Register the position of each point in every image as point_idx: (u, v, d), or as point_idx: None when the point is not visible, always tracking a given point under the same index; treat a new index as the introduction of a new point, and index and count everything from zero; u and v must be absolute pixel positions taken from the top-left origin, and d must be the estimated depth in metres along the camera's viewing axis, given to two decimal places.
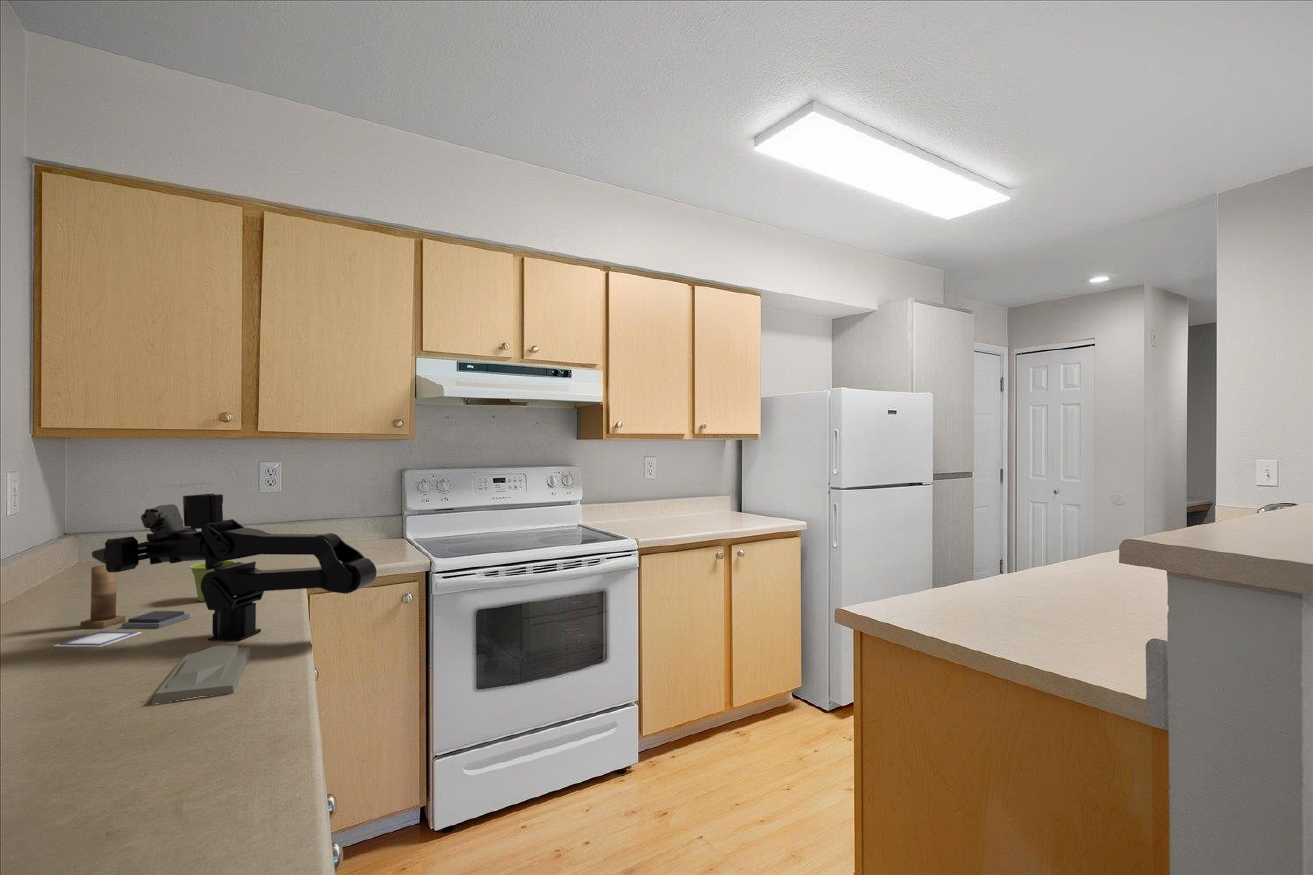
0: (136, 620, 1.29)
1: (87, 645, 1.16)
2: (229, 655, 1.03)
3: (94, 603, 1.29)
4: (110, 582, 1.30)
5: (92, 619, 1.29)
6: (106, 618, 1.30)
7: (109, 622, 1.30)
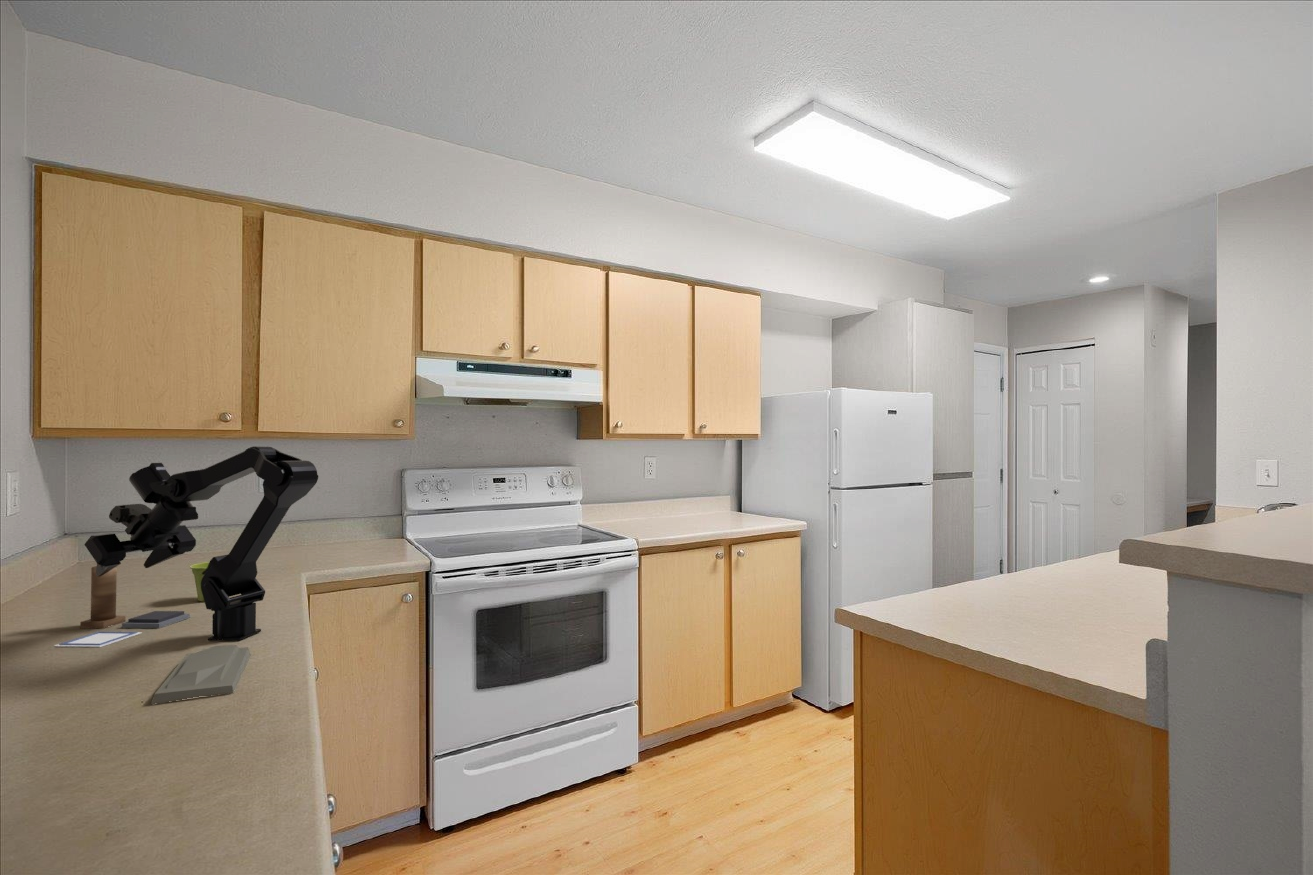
0: (136, 620, 1.29)
1: (87, 645, 1.16)
2: (229, 655, 1.03)
3: (94, 603, 1.29)
4: (110, 582, 1.30)
5: (92, 619, 1.29)
6: (106, 618, 1.30)
7: (109, 622, 1.30)
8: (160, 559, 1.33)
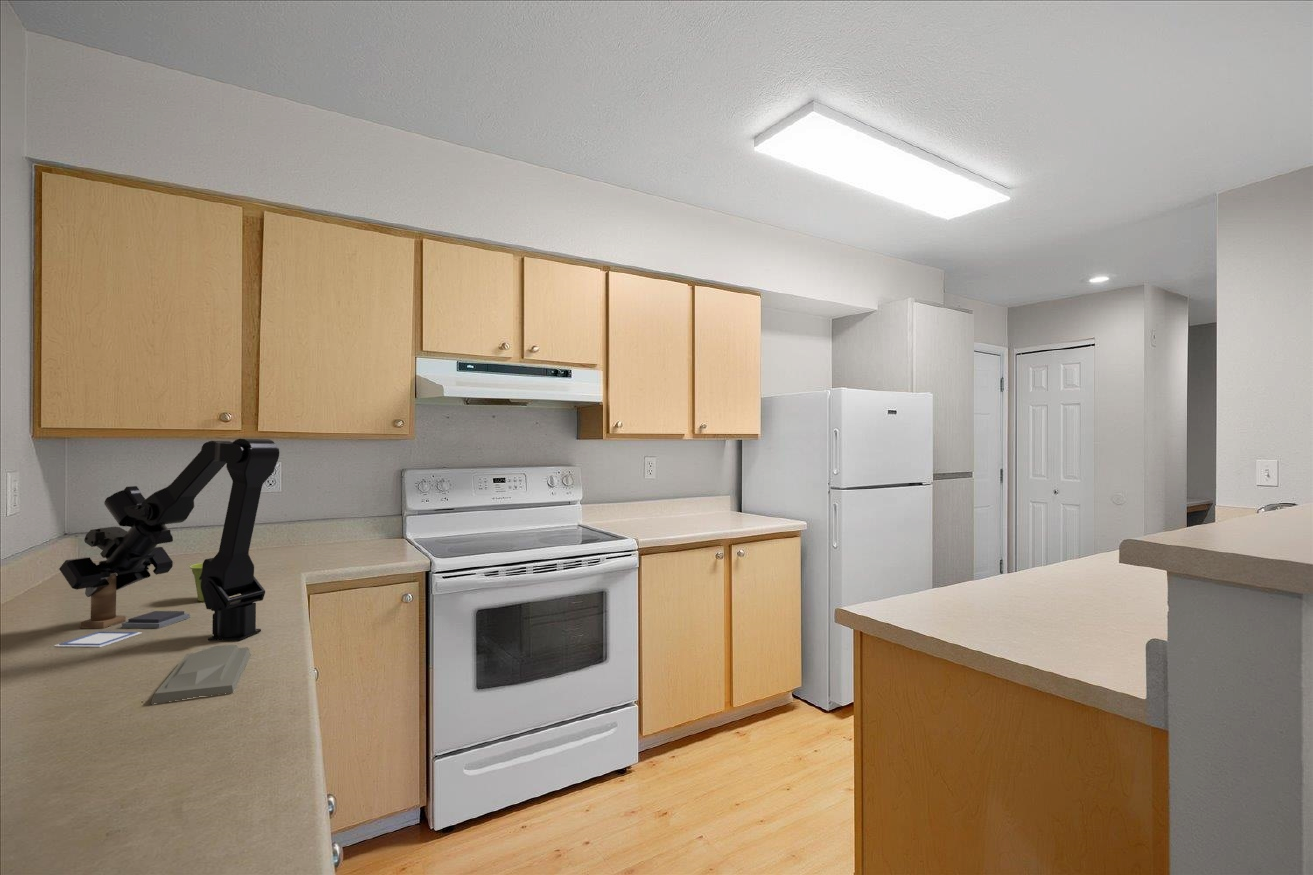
0: (136, 620, 1.29)
1: (87, 645, 1.16)
2: (229, 655, 1.03)
3: (94, 603, 1.29)
4: (110, 582, 1.30)
5: (92, 619, 1.29)
6: (106, 618, 1.30)
7: (109, 622, 1.30)
8: (125, 583, 1.33)
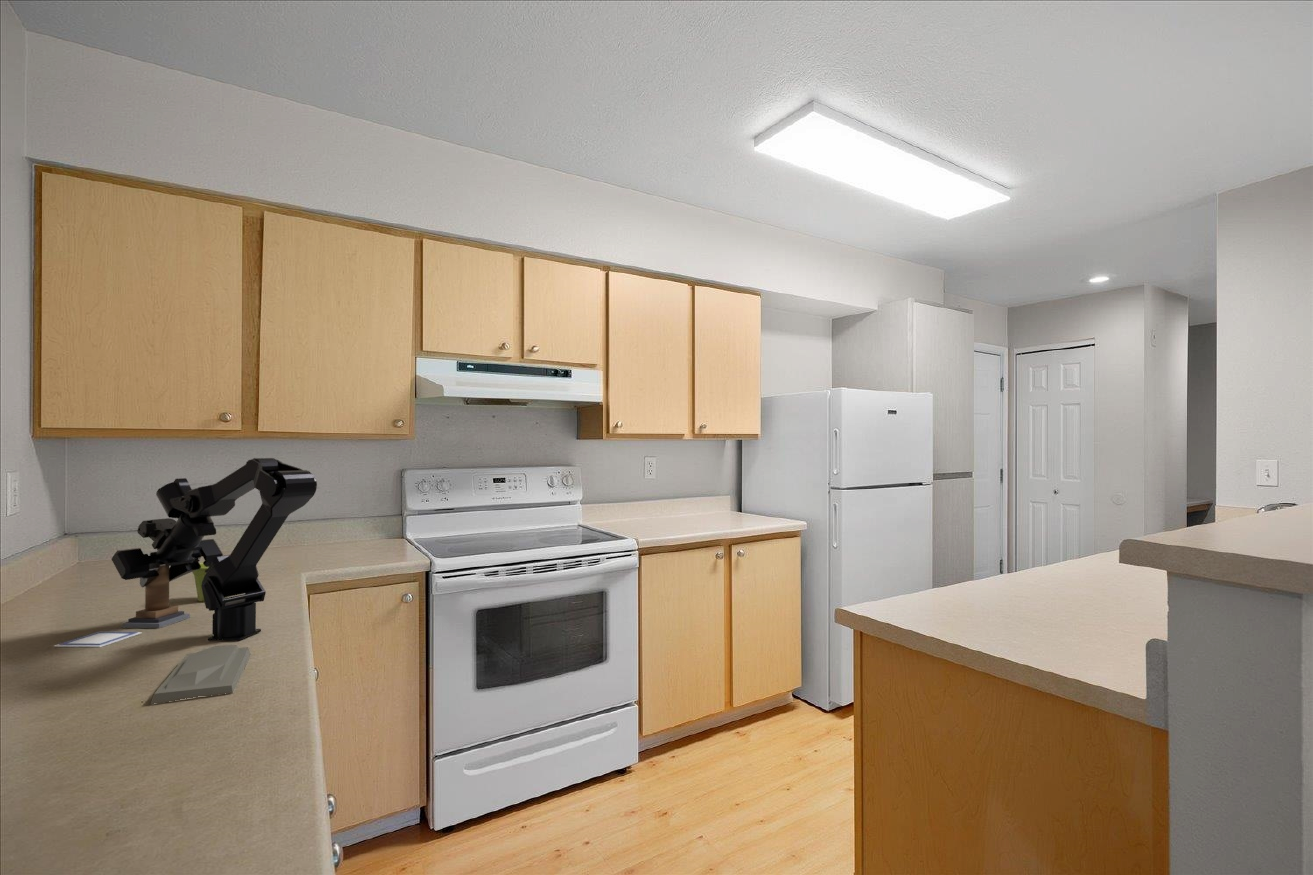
0: (136, 620, 1.29)
1: (87, 645, 1.16)
2: (229, 655, 1.03)
3: (147, 593, 1.31)
4: (162, 573, 1.32)
5: (146, 609, 1.31)
6: (159, 608, 1.31)
7: (161, 612, 1.31)
8: (177, 574, 1.34)
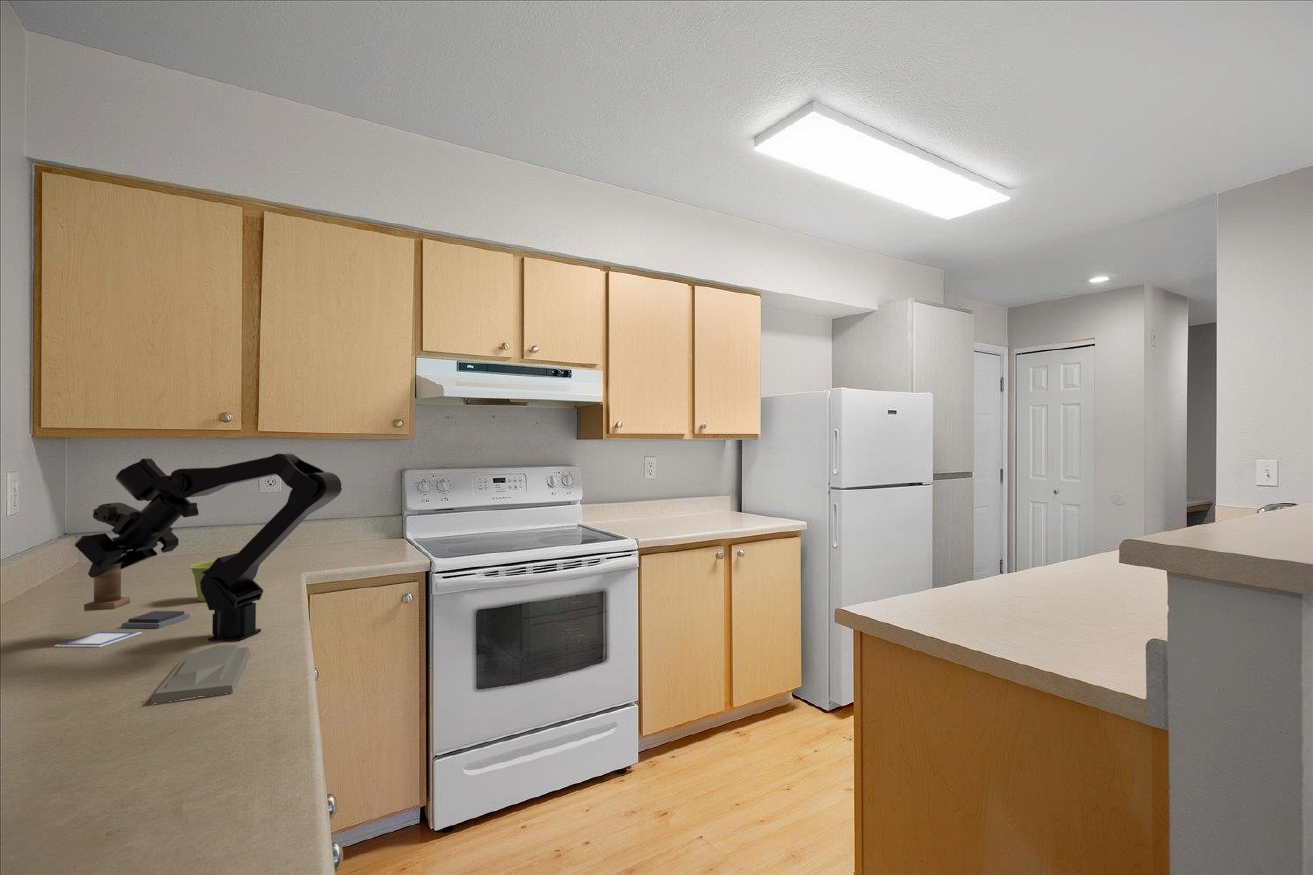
0: (136, 620, 1.29)
1: (87, 645, 1.16)
2: (229, 655, 1.03)
3: (100, 584, 1.20)
4: None
5: (98, 601, 1.20)
6: (114, 599, 1.22)
7: (118, 603, 1.22)
8: (130, 562, 1.25)
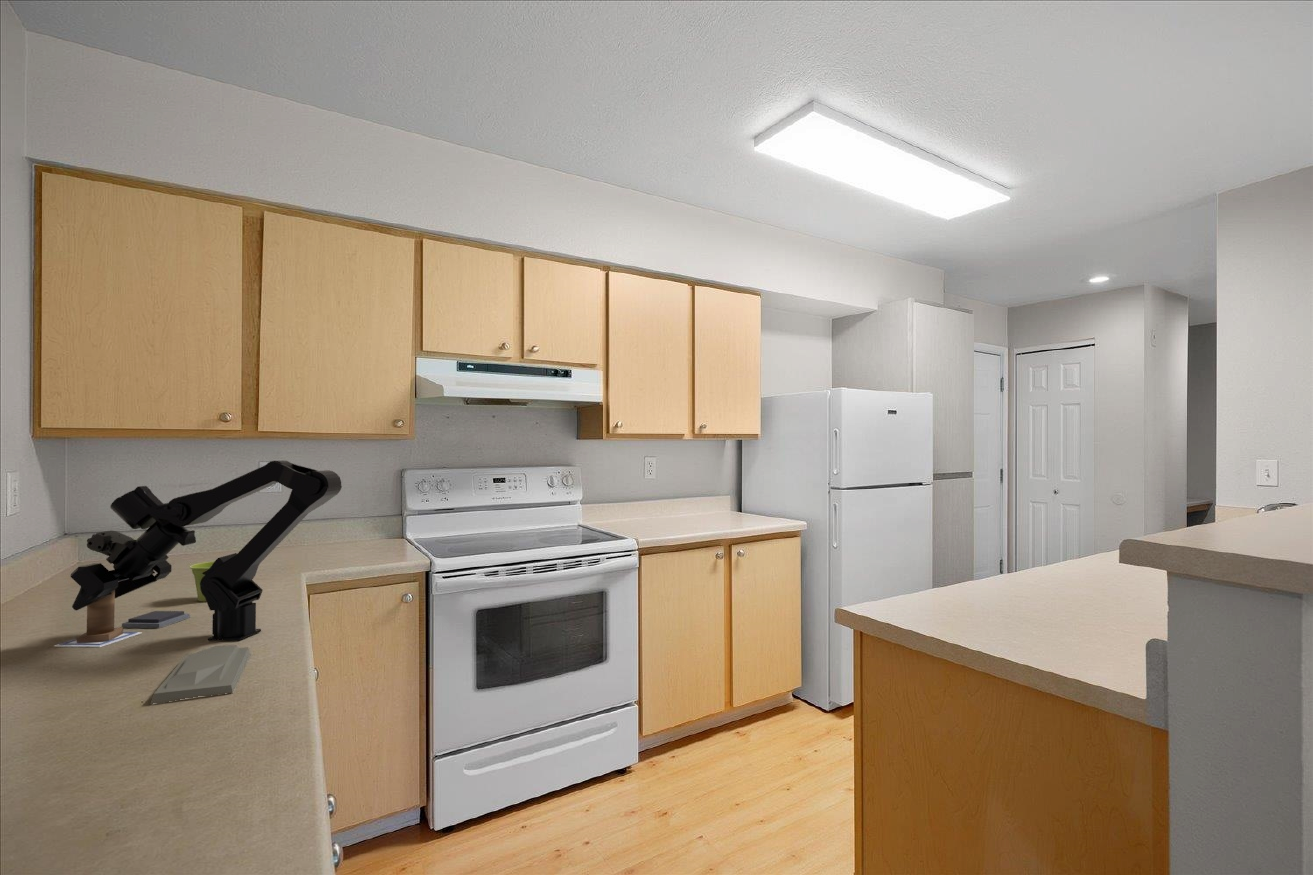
0: (136, 620, 1.29)
1: (87, 645, 1.16)
2: (229, 655, 1.03)
3: (94, 615, 1.19)
4: (111, 592, 1.21)
5: (91, 633, 1.18)
6: (108, 630, 1.20)
7: (112, 634, 1.20)
8: (131, 589, 1.25)
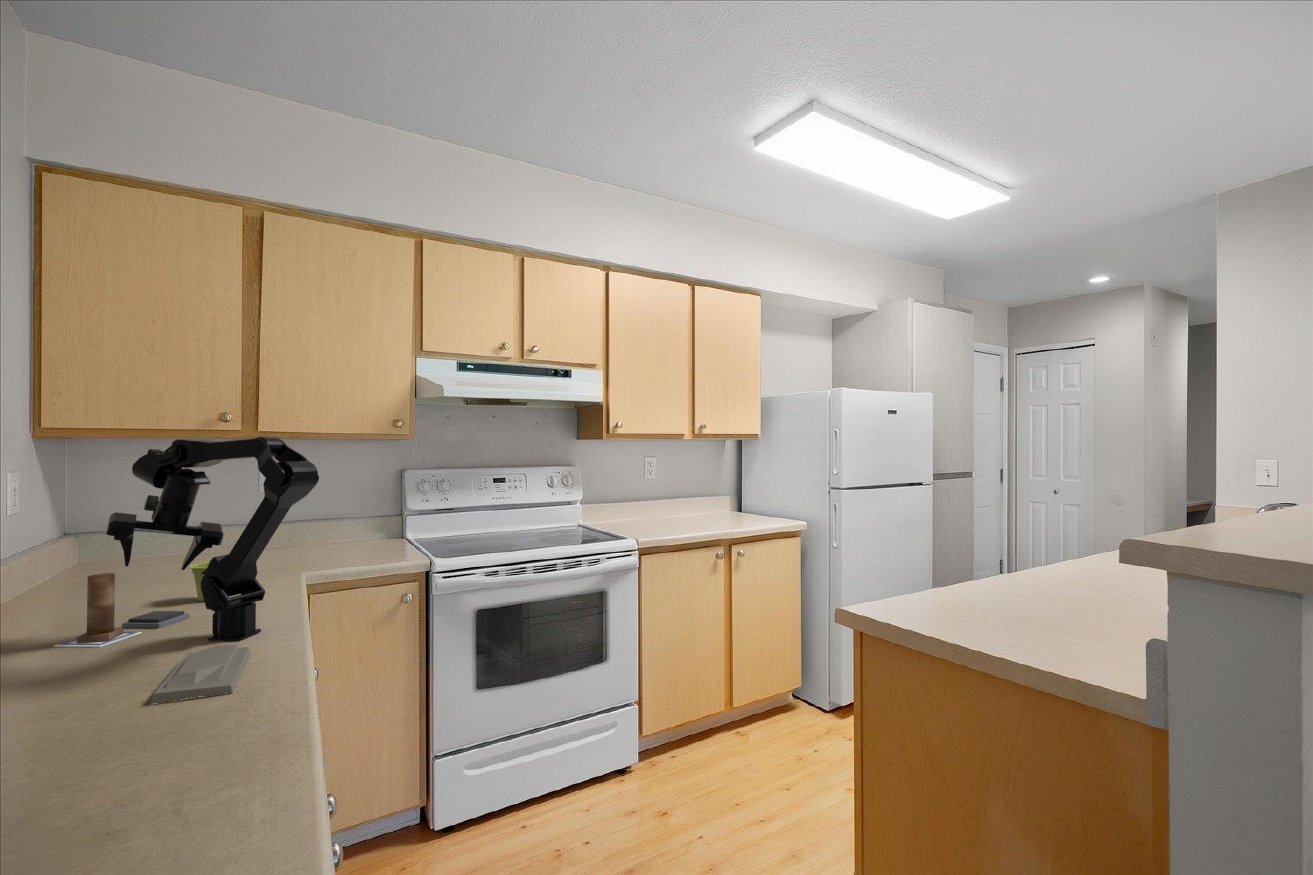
0: (136, 620, 1.29)
1: (87, 645, 1.16)
2: (229, 655, 1.03)
3: (94, 615, 1.19)
4: (111, 592, 1.21)
5: (91, 633, 1.18)
6: (108, 630, 1.20)
7: (112, 634, 1.20)
8: (189, 555, 1.29)
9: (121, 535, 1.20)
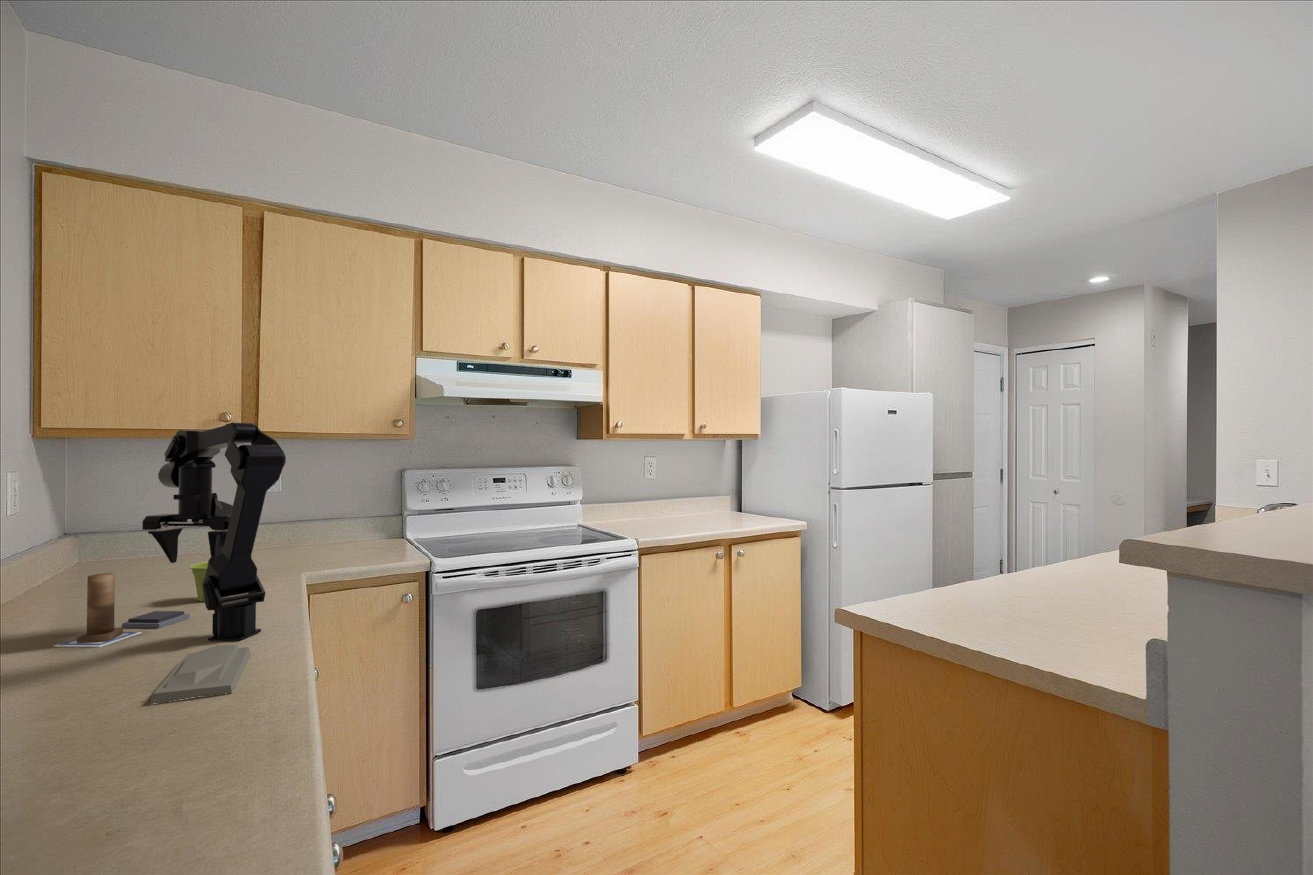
0: (136, 620, 1.29)
1: (87, 645, 1.16)
2: (228, 655, 1.03)
3: (94, 615, 1.19)
4: (111, 592, 1.21)
5: (91, 633, 1.18)
6: (108, 630, 1.20)
7: (112, 634, 1.20)
8: None
9: (150, 528, 1.29)
